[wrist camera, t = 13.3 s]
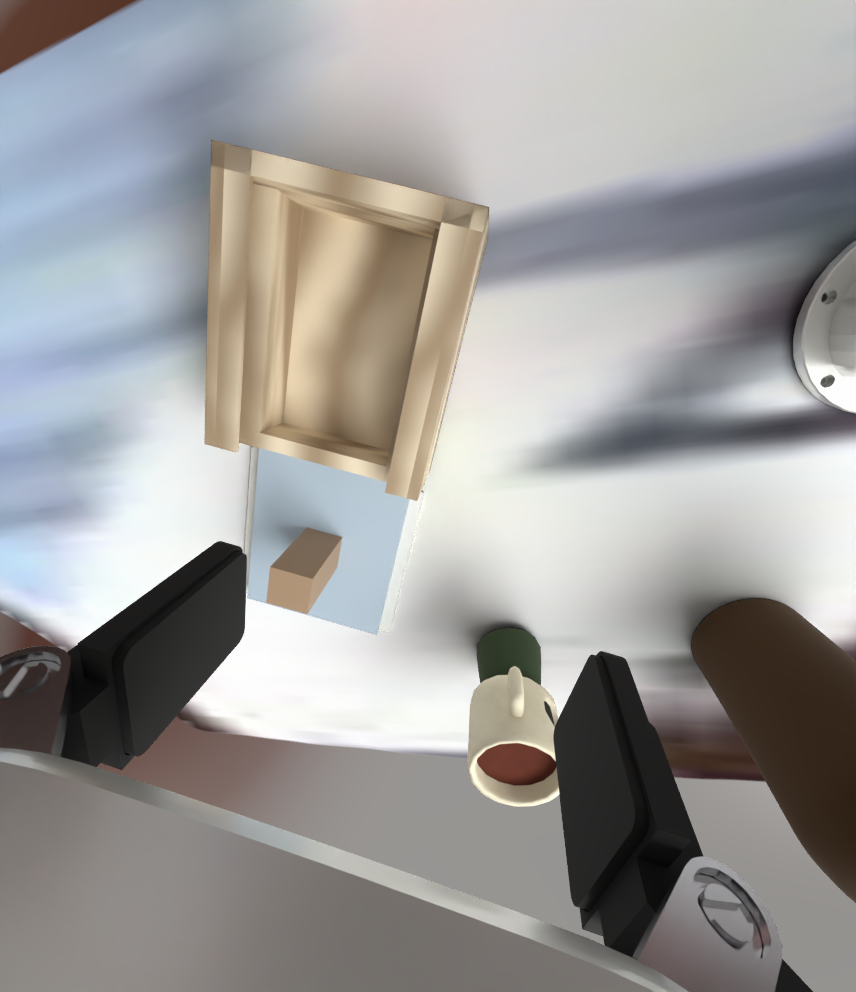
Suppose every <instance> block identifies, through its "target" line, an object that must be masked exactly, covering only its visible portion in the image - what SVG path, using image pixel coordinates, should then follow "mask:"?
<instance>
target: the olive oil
mask: <svg viewBox="0 0 856 992" xmlns="http://www.w3.org/2000/svg"><path fill="white" fill-rule="evenodd" d="M692 653H693V656H694V659H695V661H696V663H697V664H698V666H699V668H700V669H701V671H702V673H703V674H704V676H705V678H706V679H707V681H708V683H709V684H710V686H711V688H712V689H713V691H714V693H715V694H716V696H717V698H718V699H719V701H720V703H721V704H722V706H723V708H724V709H725V711H726V713H727V715H728V716H729V718H730V720H731V722H732V723H733V725H734V727H735V729H736V730H737V732H738V734H739V736H740V737H741V739H742V741H743V742H744V744H745V746H746V748H747V749H748V751H749V753H750V755H751V756H752V758H753V760H754V762H755V763H756V765H757V767H758V769H759V770H760V772H761V774H762V776H763V778H764V779H765V781H766V783H767V785H768V786H769V788H770V790H771V792H772V793H773V795H774V797H775V799H776V801H777V802H778V804H779V806H780V808H781V809H782V811H783V813H784V815H785V817H786V818H787V820H788V822H789V824H790V826H791V827H792V829H793V831H794V833H795V834H796V836H797V838H798V839H799V841H800V842H801V844H802V845H803V847H804V848H805V850H806V851H807V853H808V854H809V855H810V857H811V858H812V859H813V860H814V861H815V863H816V864H817V865H818V866H819V867H820V868H821V869H822V871H823V872H824V873H825V874H826V875H827V876H828V877H829V878H830V879H831V880H832V881H833V882H834V883H835V884H836V885H837V886H838V887H839V888H840V889H841V890H842V891H843V892H844V893H845V894H846V895H847V896H848V897H849V898H851V899H852V900H853V901H854V902H855V903H856V660H854V659H853V658H852V657H851V656H849V655H848V654H847V653H846V652H844V651H843V650H842V649H841V648H839V647H838V646H837V645H836V644H835V643H833V642H832V641H831V640H830V639H829V638H827V637H826V636H825V635H824V634H823V633H821V632H820V631H819V630H818V629H817V628H815V627H814V626H813V625H812V624H811V623H809V622H808V621H807V620H806V619H805V618H803V617H802V616H801V615H800V614H798V613H797V612H796V611H795V610H793V609H792V608H790V607H788V606H787V605H785V604H782V603H780V602H777V601H773V600H768V599H746V600H740V601H736V602H732V603H729V604H727V605H724V606H722V607H720V608H718V609H716V610H715V611H713V612H712V613H710V614H709V615H708V616H707V617H706V618H705V619H704V620H703V621H702V622H701V623H700V624H699V626H698V627H697V629H696V631H695V633H694V635H693V638H692Z"/></svg>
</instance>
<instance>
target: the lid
mask: <svg viewBox="0 0 856 992" xmlns="http://www.w3.org/2000/svg"><path fill="white" fill-rule="evenodd" d="M386 484H387V482H384V481H380V480H377V479H373V478H369V477H366V476H362V475H358V474H354V473H351V472H347V471H343V470H340V469H336V468H332V467H328V466H325V465H321V464H317V463H313V462H310V461H306V460H302V459H299V458H295V457H291V456H287V455H284V454H280V453H276V452H273V451H269V450H265V449H261V448H259V457H258V469H257V482H256V495H255V507H254V520H253V533H252V545H251V558H250V571H249V583H248V596H247V598H249V599H253V600H256V601H260V602H263V603H267V604H270V605H274V606H277V607H281V608H284V609H288V610H291V611H295V612H298V613H302V614H306V615H309V616H313V617H316V618H320V619H323V620H327V621H330V622H334V623H337V624H341V625H344V626H348V627H351V628H355V629H358V630H362V631H365V632H369V633H372V634H376V635H377V632H378V629H379V626H380V622H381V618H382V614H383V610H384V605H385V601H386V597H387V593H388V589H389V585H390V580H391V576H392V572H393V568H394V564H395V560H396V555H397V551H398V547H399V543H400V539H401V534H402V530H403V526H404V522H405V518H406V514H407V509H408V505H409V501H410V499H407V498H403V497H400V496H396V495H392V494H388V493H385V489H386Z"/></svg>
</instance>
